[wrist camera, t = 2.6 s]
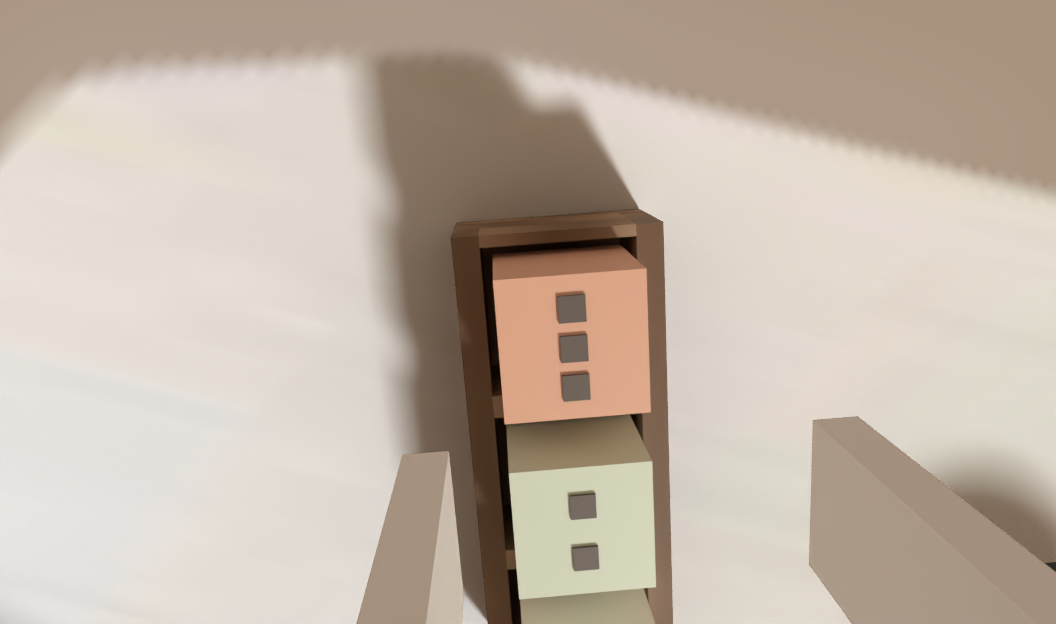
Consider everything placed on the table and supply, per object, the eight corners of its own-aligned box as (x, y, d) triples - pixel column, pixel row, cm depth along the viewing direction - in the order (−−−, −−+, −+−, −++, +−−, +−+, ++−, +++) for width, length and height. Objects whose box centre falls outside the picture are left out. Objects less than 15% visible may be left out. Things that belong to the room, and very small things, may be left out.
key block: (494, 631, 32) (495, 699, 28) (456, 222, 28) (450, 237, 24) (652, 616, 32) (674, 682, 29) (639, 209, 28) (663, 222, 24)
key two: (514, 525, 28) (519, 601, 23) (505, 416, 27) (508, 474, 22) (630, 515, 28) (656, 589, 23) (626, 407, 27) (653, 462, 22)
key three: (502, 375, 26) (504, 425, 22) (492, 254, 25) (492, 281, 21) (624, 365, 26) (651, 413, 22) (619, 244, 25) (647, 269, 21)
